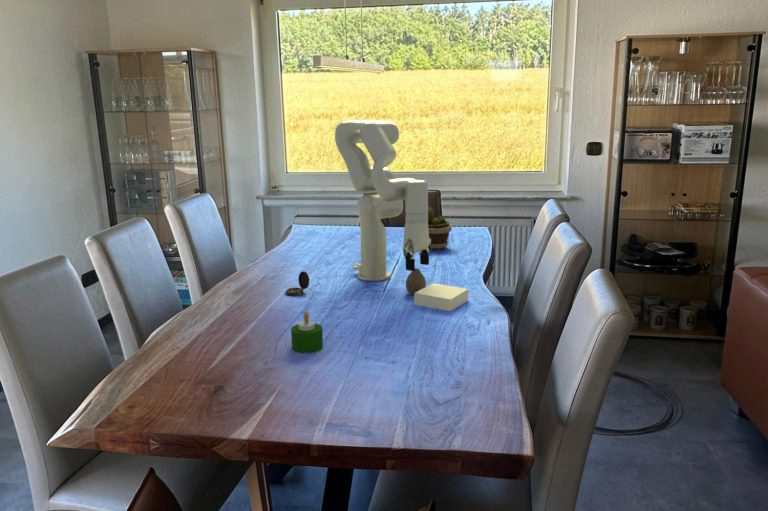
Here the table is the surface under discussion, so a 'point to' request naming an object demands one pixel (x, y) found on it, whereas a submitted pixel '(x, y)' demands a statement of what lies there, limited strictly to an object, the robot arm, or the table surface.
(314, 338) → the candle
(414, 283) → the vase
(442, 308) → the plinth
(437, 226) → the flowerpot
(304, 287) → the compass
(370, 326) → the table surface
